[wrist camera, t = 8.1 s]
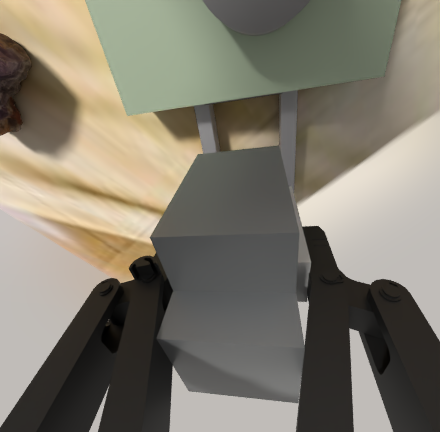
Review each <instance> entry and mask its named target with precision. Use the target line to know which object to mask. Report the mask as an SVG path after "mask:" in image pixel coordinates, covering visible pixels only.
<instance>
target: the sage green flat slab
mask: <svg viewBox="0 0 440 432" xmlns="http://www.w3.org/2000/svg"><path fill="white" fill-rule="evenodd" d="M85 1H86V4H87V7H88V10H89V12H90V15H91V18H92V21H93V23H94V26H95V29H96V32H97V34H98V37H99V40H100V42H101V45H102V48H103V51H104V53H105V56H106V59H107V62H108V64H109V67H110V70H111V73H112V75H113V78H114V81H115V83H116V86H117V89H118V92H119V94H120V97H121V100H122V103H123V105H124V108H125V111H126V114H127V116H130V115H136V114H143V113H149V112H156V111H162V110H169V109H175V108H182V107H189V106H194V110H195V114H196V119H197V124H198V129H199V134H200V139H201V144H202V149H203V154H205V153H215V152H220V145H219V139H218V133H217V127H216V120H215V114H214V108H213V104H216V103H223V102H229V101H236V100H243V99H249V98H256V97H262V96H269V95H276V94H279V147H280V151H281V155H282V159H283V164H284V168H285V172H286V177H287V181H288V185H289V186H292V189H293V193H294V181H295V154H296V126H297V98H298V90H300V89H307V88H313V87H320V86H326V85H333V84H339V83H346V82H353V81H359V80H366V79H372V78H379V77H384V76H385V72H386V67H387V63H388V58H389V54H390V49H391V45H392V40H393V36H394V31H395V27H396V22H397V18H398V13H399V9H400V4H401V0H85Z"/></svg>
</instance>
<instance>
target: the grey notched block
mask: <svg viewBox="0 0 440 432" xmlns="http://www.w3.org/2000/svg"><path fill="white" fill-rule="evenodd" d="M299 234H300V232H299V228H298V224H297V219H296V215H295V211H294V207H293V202H292V198H291V194H290V189H289V185H288V181H287V177H286V172H285V168H284V164H283V159H282V155H281V151H280V147H279V146H271V147H262V148H252V149H243V150H233V151H224V152H215V153H205V154H198V155H197V157H196V159H195V160H194V162H193V164H192V166H191V167H190V169H189V171H188V173H187V174H186V176H185V178H184V179H183V181H182V183H181V185H180V186H179V188H178V190H177V192H176V193H175V195H174V197H173V198H172V200H171V202H170V204H169V205H168V207H167V209H166V211H165V212H164V214H163V216H162V217H161V219H160V221H159V223H158V224H157V226H156V228H155V230H154V231H153V233H152V235H151V237H150V239H151V241H152V243H153V246H154V248H155V250H156V252H157V255H158V257H159V259H160V262H161V264H162V266H163V269H164V271H165V273H166V275H167V278H168V280H169V282H170V285H171V287H172V289H173V293H172V296H171V298H170V301H169V304H168V307H167V310H166V313H165V315H164V318H163V321H162V324H161V327H160V330H159V332H158V335H157V338H156V339H157V341H158V342H159V344H160V345H161V347H162V349H163V350H164V352H165V353H166V355H167V357H168V358H169V360H170V361H171V363H172V365H173V366H174V368H175V369H176V371H177V373H178V374H179V376H180V378H181V379H182V381H183V382H184V384H185V385H186V387H187V389H188V390H189V391H192V392H201V393H210V394H219V395H228V396H238V397H247V398H257V399H265V400H274V401H283V402H292V403H298V400H299V392H300V384H301V376H302V367H303V359H304V351H305V346H304V340H303V334H302V327H301V321H300V315H299V309H298V303H297V296H296V285H297V268H298V251H299Z"/></svg>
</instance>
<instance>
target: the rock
mask: <svg viewBox="0 0 440 432" xmlns="http://www.w3.org/2000/svg"><path fill="white" fill-rule="evenodd" d="M30 68H31V61H30V58H29V56H28V55H27V54H26V52H25V50H24V49H23V48H22V47H21V46H20V45H18V44H17V43H16V42H15V41H13V40H12V39H11V38H9V37H8V36H6V35H4V34H1V33H0V136H1V135H3V134H6V133H7V132H17V131H19V130H20V129H21V125H22V120H21V115H20V113H19V111H18V110H17V109H16V107H15V106H14V104H15V102H14V100H13V99H12V96H13V95H15V94H16V93H17V92H19V91H20V88H21V86H20V82H21V81H22V80H24V79H26V77H27V73H28V71H29V69H30Z"/></svg>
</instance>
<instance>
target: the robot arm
mask: <svg viewBox="0 0 440 432" xmlns="http://www.w3.org/2000/svg"><path fill="white" fill-rule="evenodd" d="M289 189H290V194H291V198H292V202H293V207H294V211H295V215H296V219H297V224H298V228H299V232H300V234H299V251H298V268H297V285H296V296H297V301H299V302H300V301H301V302H307V296H308V301H309V310H308V318H307V319H308V320H307V330H306V339H305V351H304V359H303V368H302V378H301V387H300V397H299V407H298V417H297V426H296V432H354V427H353V404H352V382H351V358H350V335H349V328H351V329H354V330H357V331H359V334H360V337H361V339H362V342H363V345H364V348H365V351H366V354H367V357H368V360H369V363H370V365H371V368H372V371H373V374H374V377H375V380H376V383H377V386H378V388H379V391H380V394H381V397H382V400H383V403H384V406H385V409H386V412H387V415H388V418H389V420H390V423H391V426H392V429H393V432H440V341H439V339H438V338H437V336H436V334H435V333H434V331H433V330H432V328H431V326H430V325H429V323H428V321H427V320H426V318H425V317H424V315H423V313H422V312H421V310H420V308H419V307H418V305H417V303H416V302H415V300H414V299H413V297H412V295H411V294H410V293H409V292H408V290H407V289H406V288H405V287H403V286H402V285H400V284H399V283H396V282H394V281H391V280H385V279H381V280H376V281H374V282H372V284H371V285H369V284H365V283H361V282H357V281H354V280H351V279H349V278H348V277H346V276H345V275H344V274H343V273H342V272H341V271H340V270H339V269H338V267H337V264H336V262H335V259H334V256H333V254H332V251H331V248H330V246H329V243H328V241H327V238H326V235H325V232H324V231H323V230H322V229H321V228H320V227H319V226H309V227H307V226H306V227H302V224H301V221H300V217H299V213H298V209H297V205H296V201H295V197H294V193H293V189H292V186H289ZM129 270H130V272H131V273H132V275H133V277H134V280H132V281H128V282H124V283H120V282H119V281H118V280H117V279H114V278H110V279H106V280H104V281H102V282H101V283H99V284H98V285H97V286H96V287H95V288H94V289H93V291H92V292H91V294H90V295H89V297H88V298H87V300H86V301H85V303H84V304H83V306H82V307H81V309H80V310H79V312H78V313H77V315H76V316H75V318H74V319H73V321H72V322H71V324H70V325H69V327H68V328H67V330H66V331H65V332H64V334H63V335H62V337H61V338H60V340H59V341H58V343H57V344H56V346H55V347H54V349H53V350H52V352H51V353H50V355H49V356H48V358H47V359H46V361H45V362H44V364H43V365H42V367H41V368H40V369H39V371H38V373H37V374H36V375H35V377H34V378H33V380H32V381H31V383H30V384H29V386H28V387H27V389H26V390H25V392H24V393H23V395H22V396H21V398H20V399H19V401H18V402H17V404H16V405H15V407H14V408H13V410H12V411H11V413H10V414H9V415H8V417H7V418H6V420H5V422H4V423H3V424H2V426H1V427H0V432H89V430H90V428H91V426H92V423H93V421H94V419H95V416H96V414H97V412H98V409H99V407H100V405H101V402H102V400H103V398H104V395H105V393H106V391H107V388H108V386H109V389H108V393H107V397H106V401H105V405H104V409H103V414H102V418H101V422H100V426H99V430H98V432H169V426H170V407H171V386H172V367H173V365H172V363H171V361H170V360H169V358H168V357H167V355H166V353H165V352H164V350H163V349H162V347H161V345H160V344H159V342H158V341H157V339H156V338H157V335H158V332H159V330H160V327H161V324H162V321H163V318H164V315H165V313H166V310H167V307H168V304H169V301H170V298H171V296H172V293H173V289H172V287H171V285H170V282H169V280H168V278H167V275H166V273H165V271H164V269H163V266H162V264H161V262H160V259H159V257H158V255H157V252H156V254H155V256H154V257H152V256H143V257H140V258H138V259H137V260H135V261H134V262H133V263H132V264H131V265H130V267H129ZM108 320H109V321H108ZM109 384H110V385H109Z"/></svg>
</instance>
